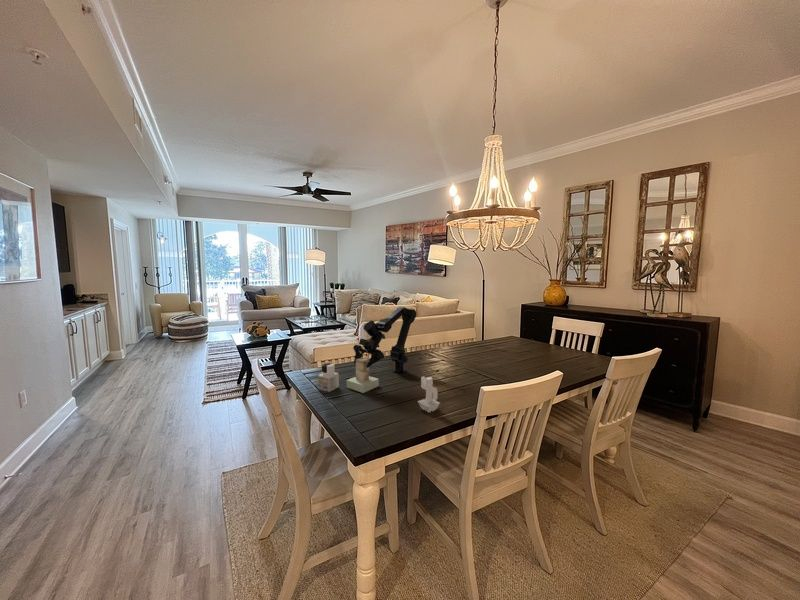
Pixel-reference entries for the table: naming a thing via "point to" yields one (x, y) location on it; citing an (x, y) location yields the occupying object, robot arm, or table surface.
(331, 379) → the container
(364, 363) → the maple block
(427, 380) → the figurine
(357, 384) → the sage base block
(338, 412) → the table surface
